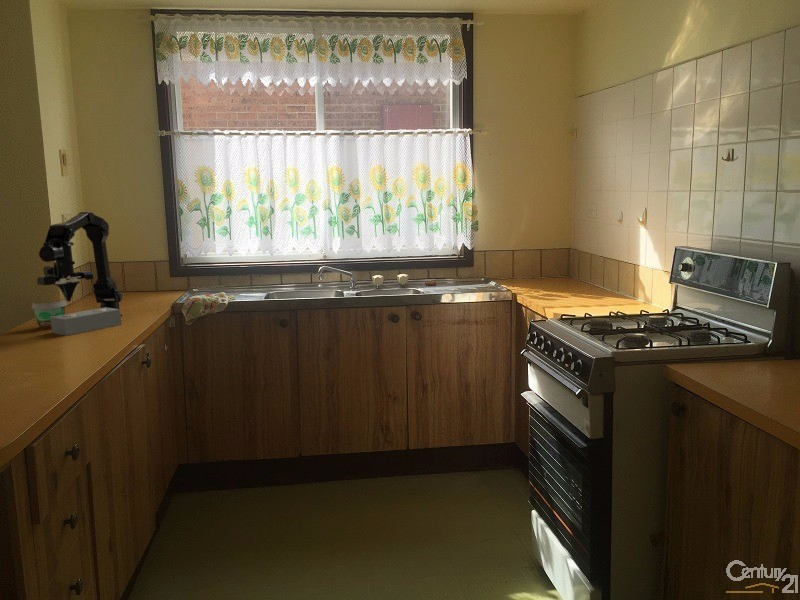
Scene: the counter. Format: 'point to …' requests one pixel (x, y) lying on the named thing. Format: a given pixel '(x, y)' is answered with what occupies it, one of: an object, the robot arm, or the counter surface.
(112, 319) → the grey peg board
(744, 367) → the counter surface
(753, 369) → the counter surface
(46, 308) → the food container
